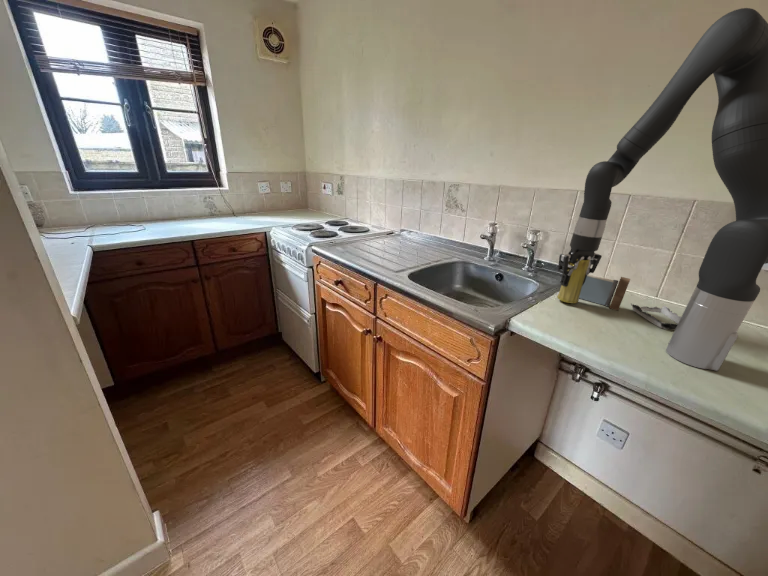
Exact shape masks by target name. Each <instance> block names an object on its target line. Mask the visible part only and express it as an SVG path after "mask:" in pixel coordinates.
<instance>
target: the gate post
mask: <svg viewBox="0 0 768 576" xmlns="http://www.w3.org/2000/svg"><path fill="white" fill-rule="evenodd" d="M630 281H631V278H628V277H623V276H621V277H620V278H619V280H618V284H617V287H616V289H615V292H614V295H613V297H612V300H611V303H610V305H609V306H608V308H609V309H610V310H615V311H619V309H620V307H621V304H622V302H623V299H624V296H625V295H626V291H627V289H628V287H629V284H630Z"/></svg>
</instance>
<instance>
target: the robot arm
mask: <svg viewBox="0 0 768 576" xmlns="http://www.w3.org/2000/svg"><path fill="white" fill-rule="evenodd" d="M712 75H713V77H714V81H715V85H716V90H717V91H716V92H717V97H718V102H717V103H718V105H717V109H716V114H715V116H714V119H713V124H712V130H711V150H712V159H713V165H714V167H715V170H716V172H717V174H718V176H719V178H720V180H721V181H722V183H723V185H724V186H725V188H726V189H727V192H729V194H730V195H731V196H730V197H731V198H732V202H733V205H734V211H735V221H730V222H729V223H727V224H725V225H723V226H722V227H721V228H719V230H717V232H716V233H715V234H714V236H713V237H712V239H711V240H710V242H709V245H708V247H707V250H706V252H705V255H704V256H703V259H702V262H701V264H700V266H699V269H698V281H697V283H696V286H695V289H694V290H693V292H692V295H691V296H690V299H689V300H688V302H687V304H686V307H685V309H684V311H683V313H682V315H681V316H680V317H681V319H680V321H679V323H678V325H677V327H676V329H675V330H673V331H674V332H673V333H672V335H671V338H670V339H669V341H668V343H667V346H666V348H665V351H666V353H667V354H668V355H670V356H671V357H672V358H674V359H676V361H679V362H681V363H683V364H686V365H688V366H691V367H695V368H698V369H705V370H712V371H715V372H719V370H720V368H721V367H722V364H723V363H724V361H725V359H726V358H727V356H728V355H729V353H730V351H731V349H732V347H733V346H734V344H735V343H736V341H737V339H738V337H739V334H738V330H739V328H740V327H741V325H742V323H743V322H744V320H745V318H746V316H747V314H748V313H749V311H750V309H752V306H753V304H754V302H755V301H756V299H757V298H758V295H759V294H760V292H761V288H760V286H759V285H758V284H757V280H758V277H759V274H760V272H761V271H762V269H763V267H764V265H766V264H768V22H767V20H766V19H765V18H764V16H762V15H761V13H760V12H759V11H757V10H756V9H754V8H750V7H744V8H743V7H741V8H737V9H734V10H732V11H729V12H728V13H725V14H724V15H722V16H721V17H720V18H718V19H717V20H715V22H714V23H713V24H711V25H709V28H708V29H707V30H706V31H705V32H704V33H703V34H702V35H701V37H700V38H699V40H698V41H697V42H696V44H695V45H694V46H693V48H692V50H691V51H690V52H689V54H688V55H687V57H686V58H685V59H684V61H683V62H682V64H681V65H680V66H679V68H678V69H677V71H676V72H675V73H674V75H673V76H672V77H671V78H670V80H669V81H668V83H667V84H666V85H665V87H664V88H663V90H662V91H661V92H660V94H659V95H658V96H657V97H656V99H655V100H654V101H653V102H652V104H651V105H650V106H649V107H648V109H646V111H645V112H644V113H643V114H642V115H641V117H640V118H639V119H638V120H637V121H636V122H635V123H634V125H633V126H631V128H629V130H628V131H627V132H626V133H625V134H624V136H622V138H620V140H619V142H618V143H617V145H616V150H615V151H614V153H613V154H612V155H611V156H610V158H609V159H608V160H607V161H606V160H603V161H600V162H597V163H596V164H594V165H592V167H591V168H590V169H589V171H588V173H587V175H586V178H585V182H584V190H583V191H584V193H583V203H582V205H581V209H580V213H579V215H578V218H577V220H576V223H575V226H574V229H573V233H572V237H571V240H570V242H569V247H570V250H569V252H568V253H567V254H566V253H565V254H564V253H560V254H559V256H558V257H559V258H558V266H557V267H558V268H557V272H559V273H561V274H562V275H561V279H560V282H559V283H560V285H562V286H564V287H567V286H568V283H569V280H570V277H571V276H570V275H571V274H572V272H573V271H574V270H576V269H577V267H578V263H579V261H581V260H590V262H589V265H588V268H587V271H586V274H585V278H584V281H583V284H584V283H585V280H586V277H587V275H589V274H594V273H595V271H596V269H597V267H598V265H599V263H600V262H601V258H602V256H603V255H602V254H599V253H596V251H598V250H599V247H600V245H601V241H602V238H603V235H604V233H605V229H606V225H607V221H608V216H609V215H610V211H611V208H612V204H613V203H612V200H611V197H610V196H611V194H612V193H611V192H612V189H613V187H616V186H618V185H619V184H620V183H621V182H623V181H624V180H625V179H626V178H627V177H628V176H629V174H630V173H631V172H632V171H633V169H634V168H635V167H636V165H637V164H638V163H639V161H640V160H641V159H642V158H643V157H644V156H645V155H646V154H647V153H648V152H649V151H650V150H651V149H652V148H653V147H654V146H655V145H656V144H657V143H658V142H659V141H660V140H661V139H662V138H663V137H664V136H665V135H666V134H667V132H669V130H670V129H671V128H672V127H673V126H674V123H675V122H676V120H677V119H678V117H679V115H680V114H681V113H682V110H683V109H684V108H685V106H686V104H687V103H688V101H689V100H690V99H691V97H692V96H693V95H694V94H695V93H696V91H697V90H698V89H699V88H700V86H702V85H703V83H705V81H707V80H708V79H709V77H711V76H712ZM577 259H578V260H577ZM569 262H570V263H572V264H574V265H573V266H571V265H569ZM569 268H570V270H569V271H567V270H568V269H569ZM582 286H583V285H582Z"/></svg>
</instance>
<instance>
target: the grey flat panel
mask: <svg viewBox="0 0 768 576" xmlns="http://www.w3.org/2000/svg"><path fill="white" fill-rule="evenodd" d="M618 283H619V280H618V279H610V278H606V277H602V276H598V275H594V274H591V273H589V275H587V277H586V280H585V283H584V284H583V286H582V289H581V293H580V296H579V299H581V300H584V301H587V302H592V303H596V304H599V305H603V306H605V307H610V305H611V302H612V299H613V297H614V294H615V291H616V289H617V286H618Z"/></svg>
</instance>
